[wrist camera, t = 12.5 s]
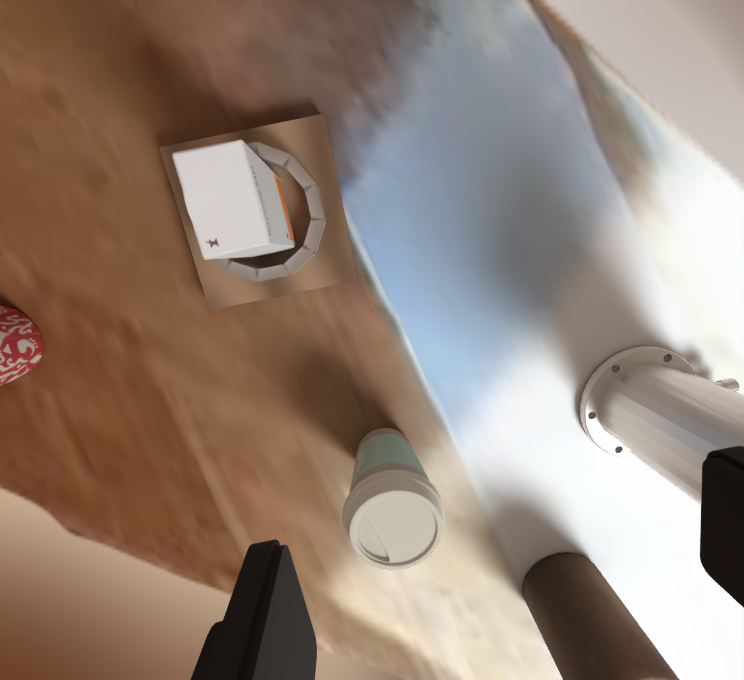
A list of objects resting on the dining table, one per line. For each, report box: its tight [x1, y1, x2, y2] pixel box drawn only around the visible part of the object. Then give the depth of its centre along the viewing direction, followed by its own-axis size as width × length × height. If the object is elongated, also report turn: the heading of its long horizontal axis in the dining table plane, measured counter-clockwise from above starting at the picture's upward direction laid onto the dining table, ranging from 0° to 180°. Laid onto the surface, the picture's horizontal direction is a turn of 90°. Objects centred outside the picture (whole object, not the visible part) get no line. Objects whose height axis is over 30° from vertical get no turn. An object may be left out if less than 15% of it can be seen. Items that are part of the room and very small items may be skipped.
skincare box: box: [172, 140, 297, 260], centre depth 27 cm, size 6×4×12 cm
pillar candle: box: [522, 553, 679, 680], centre depth 40 cm, size 10×10×15 cm
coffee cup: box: [343, 428, 445, 570], centre depth 36 cm, size 9×9×12 cm
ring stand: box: [159, 114, 358, 310], centre depth 33 cm, size 14×14×4 cm
